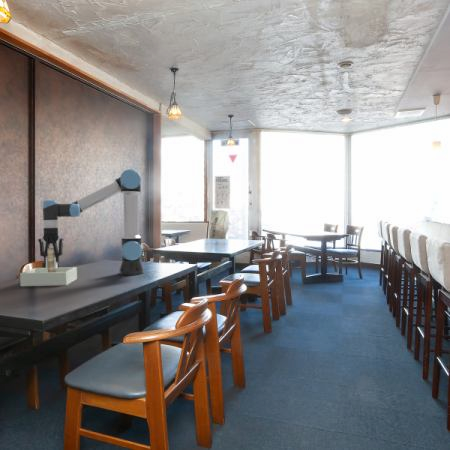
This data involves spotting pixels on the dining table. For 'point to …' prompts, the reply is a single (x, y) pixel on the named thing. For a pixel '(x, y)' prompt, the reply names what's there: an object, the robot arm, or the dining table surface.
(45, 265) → the mug
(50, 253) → the dowel
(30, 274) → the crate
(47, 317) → the dining table surface
